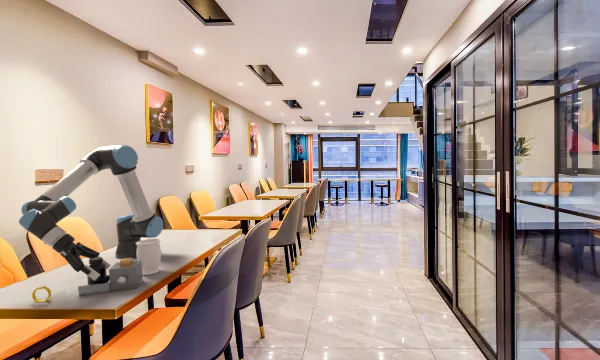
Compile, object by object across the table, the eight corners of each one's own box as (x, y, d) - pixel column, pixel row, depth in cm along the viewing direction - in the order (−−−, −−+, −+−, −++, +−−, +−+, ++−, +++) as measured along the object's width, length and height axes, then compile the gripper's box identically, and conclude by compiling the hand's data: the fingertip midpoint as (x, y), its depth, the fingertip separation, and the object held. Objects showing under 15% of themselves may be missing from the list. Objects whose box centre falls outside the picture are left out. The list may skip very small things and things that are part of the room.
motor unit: (90, 285, 143) (88, 260, 142) (143, 279, 148) (141, 255, 147) (76, 298, 129) (74, 270, 129) (135, 290, 134) (133, 263, 134)
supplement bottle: (109, 286, 138) (107, 258, 138) (90, 291, 133) (88, 262, 133) (104, 282, 143) (102, 255, 142) (86, 287, 138) (83, 258, 137)
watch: (31, 304, 126) (29, 289, 125) (36, 301, 128) (34, 286, 128) (49, 301, 127) (46, 286, 126) (53, 298, 129) (51, 283, 129)
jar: (146, 277, 151) (144, 244, 150) (133, 274, 156) (131, 242, 155) (166, 270, 160) (164, 239, 159) (153, 267, 165) (151, 237, 164)
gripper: (66, 240, 146) (106, 270, 150) (35, 255, 122) (84, 290, 126) (78, 227, 147) (118, 257, 151) (51, 239, 123) (99, 274, 127)
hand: (103, 272), depth 138 cm, fingers open, 13 cm apart
